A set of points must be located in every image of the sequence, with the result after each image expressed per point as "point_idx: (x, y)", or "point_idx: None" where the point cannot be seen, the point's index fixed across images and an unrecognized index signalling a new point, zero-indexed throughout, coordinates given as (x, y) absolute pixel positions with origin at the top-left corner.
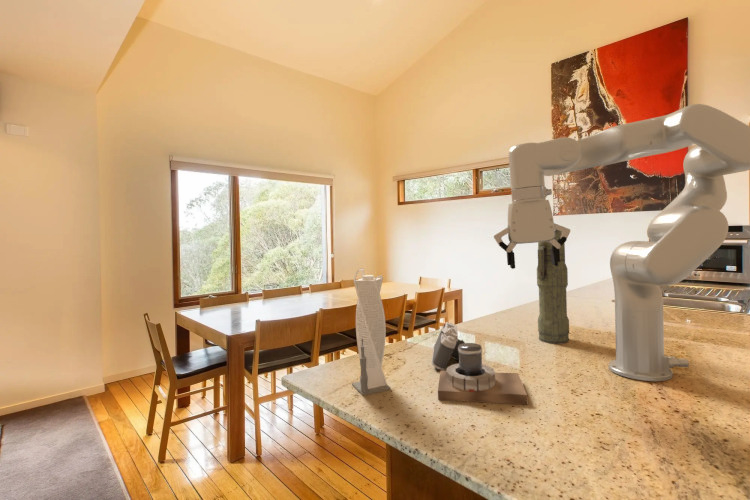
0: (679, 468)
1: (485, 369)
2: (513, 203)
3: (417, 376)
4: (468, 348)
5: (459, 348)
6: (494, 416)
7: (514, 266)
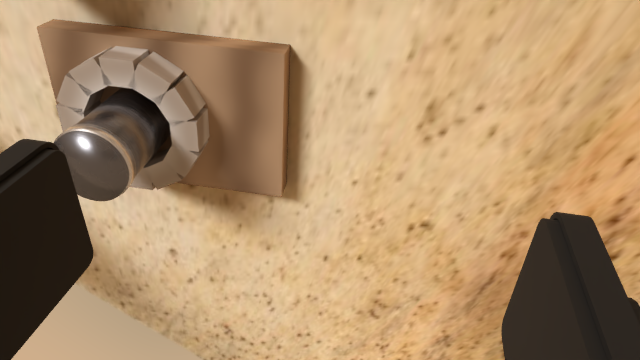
0: (451, 353)
1: (170, 121)
2: None
3: None
4: (88, 190)
5: None
6: (211, 225)
7: (78, 268)
